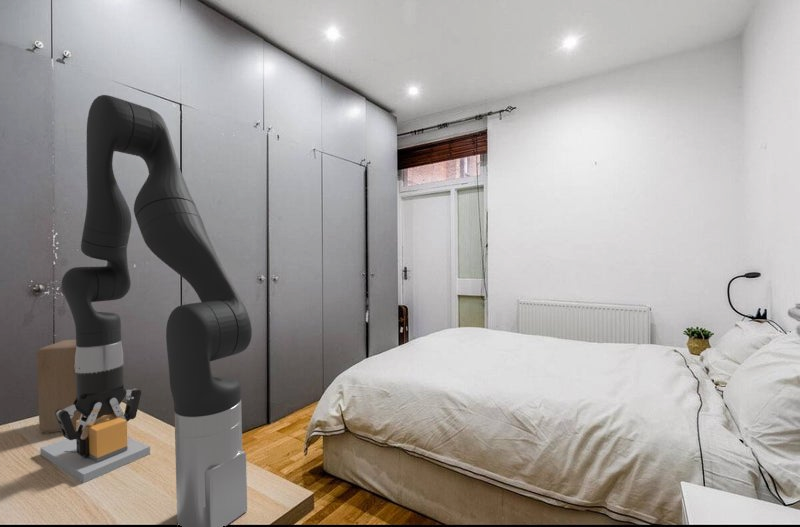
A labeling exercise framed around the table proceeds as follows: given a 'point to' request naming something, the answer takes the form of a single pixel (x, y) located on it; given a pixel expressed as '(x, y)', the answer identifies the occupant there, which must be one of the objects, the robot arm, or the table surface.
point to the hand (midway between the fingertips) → (102, 448)
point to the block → (56, 383)
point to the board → (86, 467)
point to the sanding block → (107, 437)
